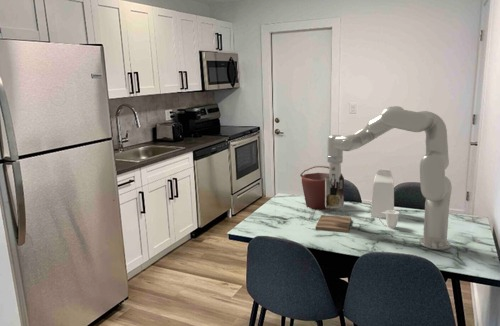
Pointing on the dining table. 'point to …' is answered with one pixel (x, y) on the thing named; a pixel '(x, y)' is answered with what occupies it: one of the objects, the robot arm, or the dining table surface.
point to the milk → (382, 193)
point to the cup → (391, 218)
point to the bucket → (314, 189)
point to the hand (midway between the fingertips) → (334, 193)
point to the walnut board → (333, 223)
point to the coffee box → (334, 200)
